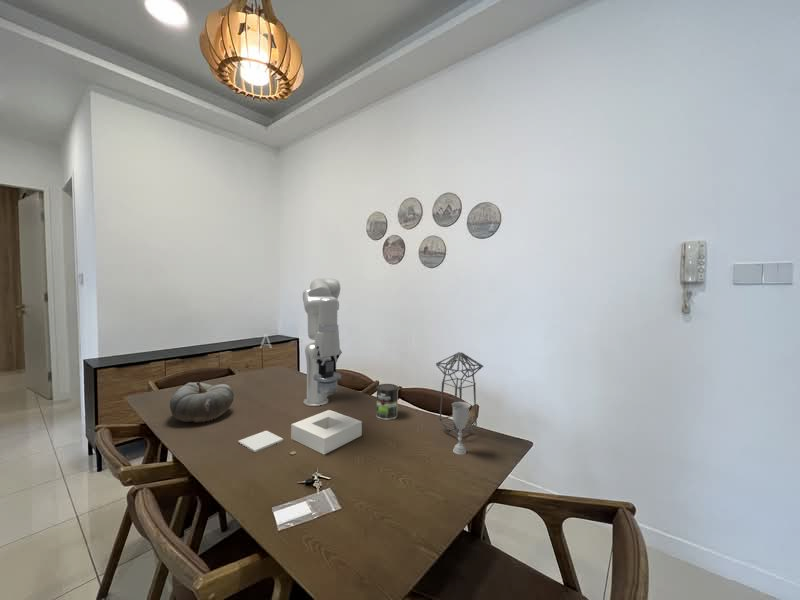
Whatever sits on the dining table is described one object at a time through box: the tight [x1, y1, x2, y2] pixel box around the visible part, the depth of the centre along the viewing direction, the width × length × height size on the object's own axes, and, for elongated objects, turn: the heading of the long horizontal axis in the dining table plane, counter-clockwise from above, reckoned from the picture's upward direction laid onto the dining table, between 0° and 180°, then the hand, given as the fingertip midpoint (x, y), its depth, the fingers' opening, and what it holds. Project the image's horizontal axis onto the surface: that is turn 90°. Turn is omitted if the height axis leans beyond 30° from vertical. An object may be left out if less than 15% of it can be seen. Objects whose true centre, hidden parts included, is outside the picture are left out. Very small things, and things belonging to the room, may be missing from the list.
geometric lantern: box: [435, 351, 484, 439], centre depth 143 cm, size 16×16×35 cm
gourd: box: [169, 381, 235, 423], centre depth 155 cm, size 25×25×17 cm
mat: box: [237, 430, 284, 453], centre depth 133 cm, size 12×12×1 cm
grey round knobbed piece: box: [313, 360, 342, 395], centre depth 137 cm, size 11×11×12 cm
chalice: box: [451, 401, 471, 455], centre depth 128 cm, size 7×7×18 cm
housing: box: [290, 409, 363, 455], centre depth 138 cm, size 20×20×6 cm
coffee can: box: [375, 383, 399, 421], centre depth 161 cm, size 10×10×14 cm
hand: (327, 372), depth 136 cm, fingers closed on grey round knobbed piece, 5 cm apart
